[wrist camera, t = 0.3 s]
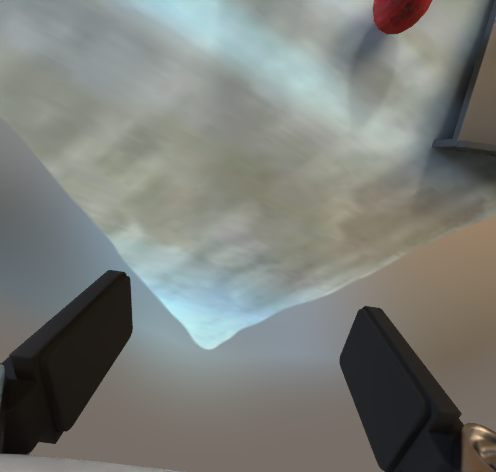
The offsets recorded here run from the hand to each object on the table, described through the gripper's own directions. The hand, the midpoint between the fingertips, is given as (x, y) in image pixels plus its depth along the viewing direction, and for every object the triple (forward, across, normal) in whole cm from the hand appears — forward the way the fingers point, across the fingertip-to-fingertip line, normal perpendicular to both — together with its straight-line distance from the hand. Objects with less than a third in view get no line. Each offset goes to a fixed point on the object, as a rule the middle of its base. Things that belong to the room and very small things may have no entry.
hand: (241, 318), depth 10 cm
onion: (+31, -14, -24) cm, 41 cm away
